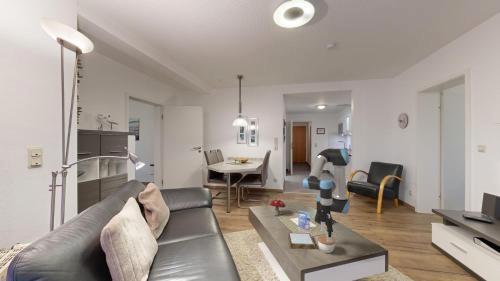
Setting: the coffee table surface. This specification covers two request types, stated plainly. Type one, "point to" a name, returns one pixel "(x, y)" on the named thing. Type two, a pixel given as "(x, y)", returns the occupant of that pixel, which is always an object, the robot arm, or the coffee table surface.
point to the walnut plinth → (301, 241)
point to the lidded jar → (326, 244)
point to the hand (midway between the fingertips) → (326, 236)
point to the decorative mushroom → (277, 206)
